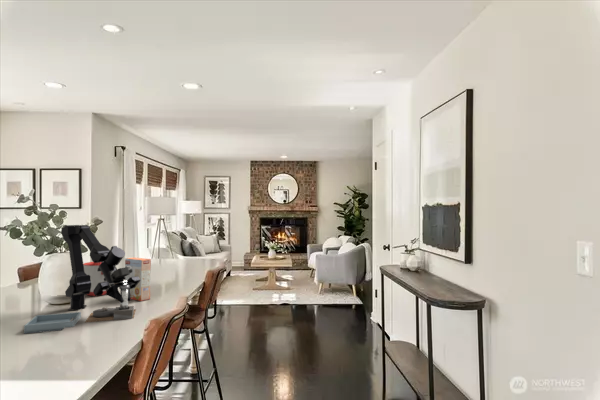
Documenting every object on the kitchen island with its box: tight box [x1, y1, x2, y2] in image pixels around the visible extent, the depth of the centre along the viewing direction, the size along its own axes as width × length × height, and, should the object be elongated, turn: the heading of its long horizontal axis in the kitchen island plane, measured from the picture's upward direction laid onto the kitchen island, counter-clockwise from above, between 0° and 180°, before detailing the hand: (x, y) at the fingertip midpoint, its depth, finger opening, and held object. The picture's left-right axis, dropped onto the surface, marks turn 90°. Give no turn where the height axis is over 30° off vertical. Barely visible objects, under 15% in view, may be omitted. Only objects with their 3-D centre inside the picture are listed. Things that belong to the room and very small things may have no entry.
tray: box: [23, 311, 82, 335], centre depth 149 cm, size 14×16×3 cm
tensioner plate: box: [84, 305, 137, 324], centre depth 160 cm, size 15×18×4 cm
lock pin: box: [118, 285, 130, 310], centre depth 159 cm, size 4×4×13 cm
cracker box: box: [124, 257, 152, 302], centre depth 195 cm, size 14×6×21 cm, turn 58°
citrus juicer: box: [83, 261, 107, 297], centre depth 205 cm, size 16×17×20 cm
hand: (126, 301), depth 158 cm, fingers closed on lock pin, 3 cm apart
